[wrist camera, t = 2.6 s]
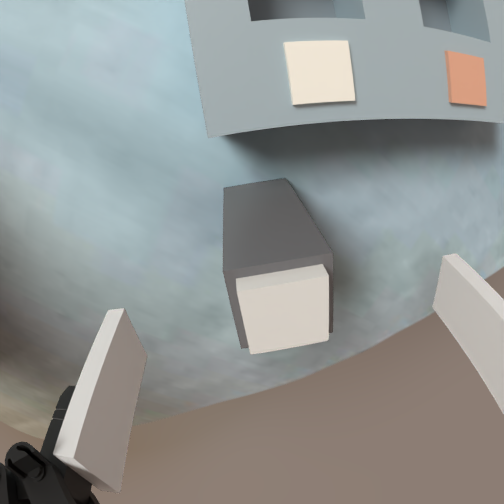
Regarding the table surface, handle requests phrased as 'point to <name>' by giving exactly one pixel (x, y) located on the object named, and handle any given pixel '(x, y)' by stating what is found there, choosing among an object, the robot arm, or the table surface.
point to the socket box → (346, 61)
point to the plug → (275, 268)
